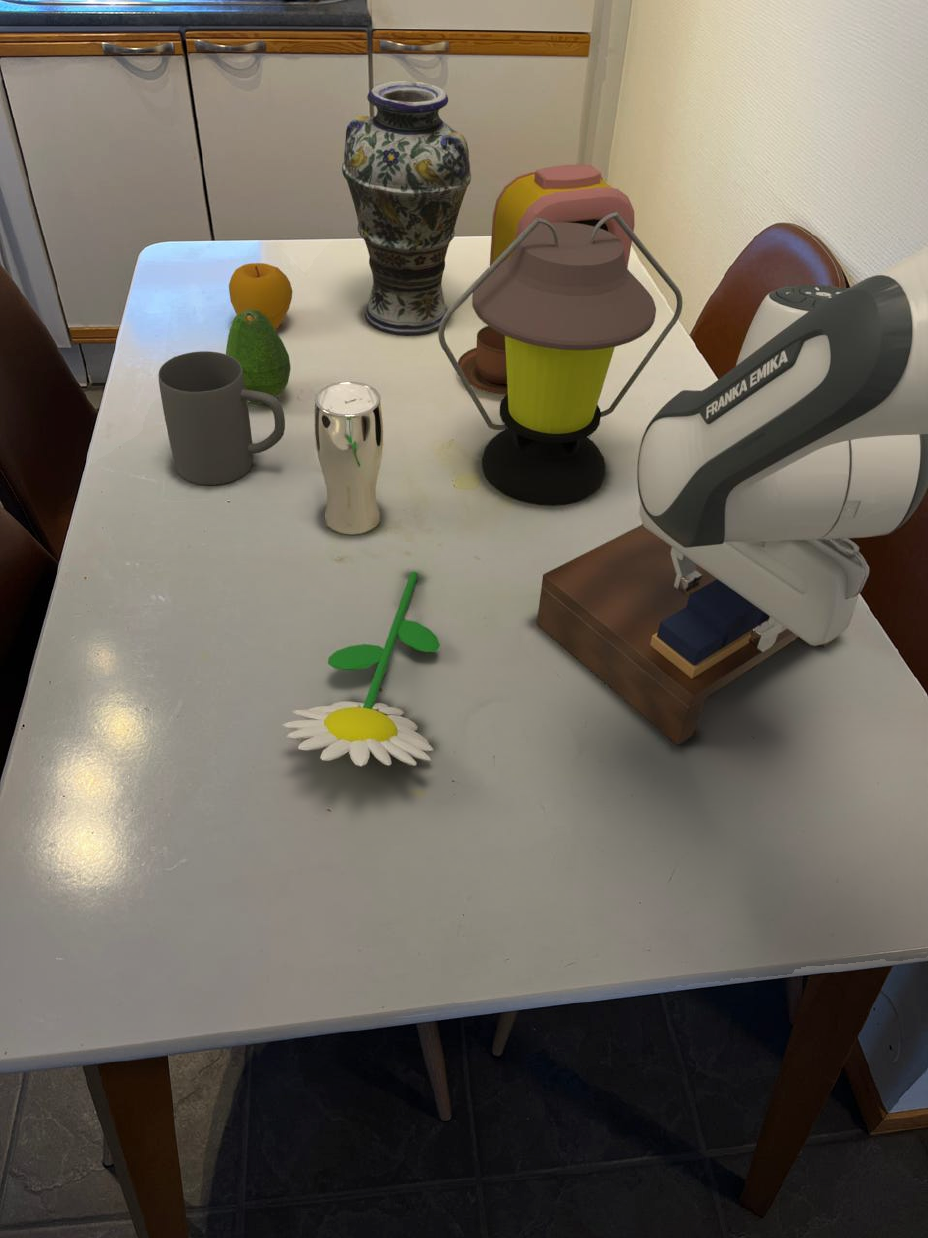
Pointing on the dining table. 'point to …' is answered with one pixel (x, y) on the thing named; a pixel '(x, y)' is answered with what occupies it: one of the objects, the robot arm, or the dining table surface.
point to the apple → (261, 291)
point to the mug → (212, 417)
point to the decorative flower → (368, 704)
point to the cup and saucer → (486, 362)
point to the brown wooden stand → (636, 628)
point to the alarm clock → (558, 204)
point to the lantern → (558, 352)
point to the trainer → (707, 628)
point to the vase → (406, 201)
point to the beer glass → (349, 454)
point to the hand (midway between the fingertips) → (722, 616)
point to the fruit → (259, 353)
